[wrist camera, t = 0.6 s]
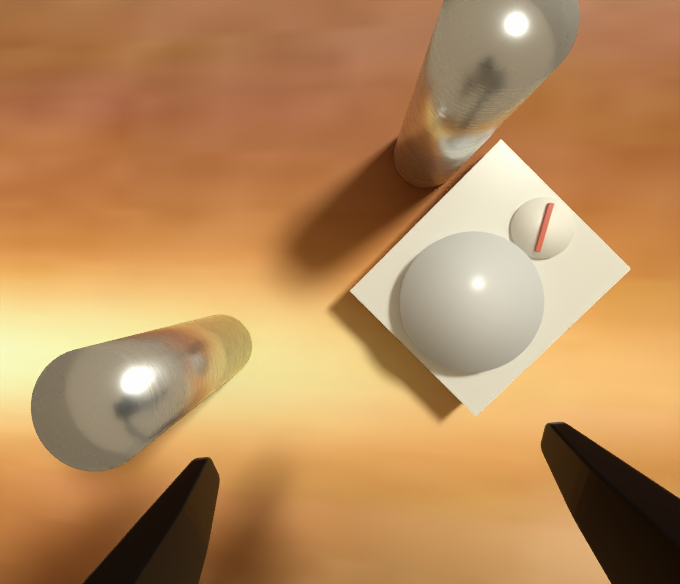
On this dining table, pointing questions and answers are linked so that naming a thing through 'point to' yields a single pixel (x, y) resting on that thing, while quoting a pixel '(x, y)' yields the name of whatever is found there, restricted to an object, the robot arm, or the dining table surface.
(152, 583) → the robot arm
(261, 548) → the dining table surface
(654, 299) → the dining table surface
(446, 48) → the cylinder
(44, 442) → the shiny silver cylinder
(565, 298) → the scale
